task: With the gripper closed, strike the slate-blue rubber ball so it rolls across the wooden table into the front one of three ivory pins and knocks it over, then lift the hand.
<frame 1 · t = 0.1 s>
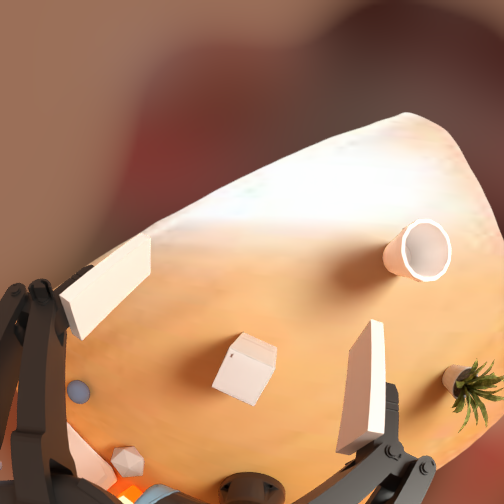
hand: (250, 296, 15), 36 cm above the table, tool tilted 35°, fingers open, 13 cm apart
die: (135, 454, 50), on the table
house plant: (448, 381, 43), on the table
orange juice: (137, 496, 48), on the table
foam cup: (396, 257, 48), on the table
supplement box: (252, 356, 50), on the table
plate: (80, 458, 52), on the table
ball: (78, 392, 50), on the table
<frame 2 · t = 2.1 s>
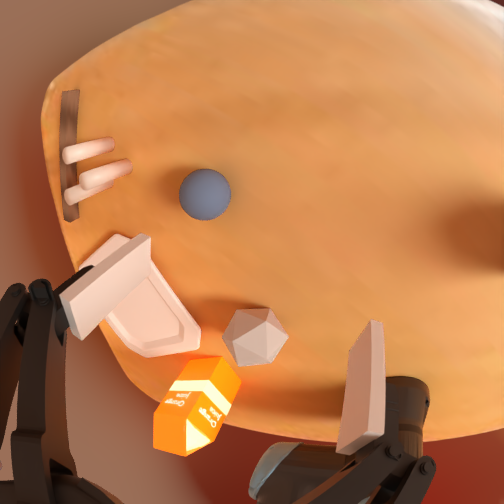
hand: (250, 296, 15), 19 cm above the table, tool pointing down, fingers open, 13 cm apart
die: (262, 319, 42), on the table
orange juice: (215, 370, 52), on the table
pin 2: (108, 180, 39), on the table
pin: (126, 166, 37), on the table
pin 1: (109, 144, 36), on the table
plate: (137, 300, 50), on the table
ball: (204, 194, 32), on the table
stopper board: (73, 155, 39), on the table
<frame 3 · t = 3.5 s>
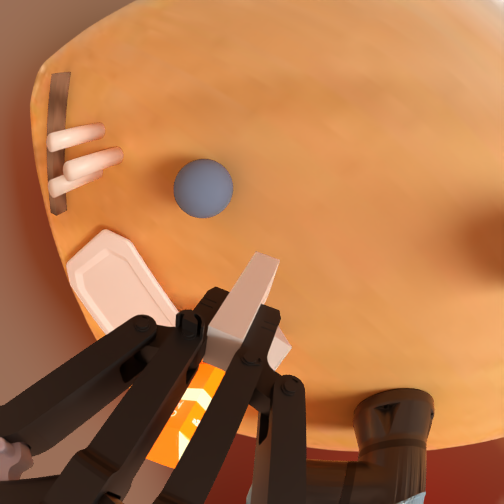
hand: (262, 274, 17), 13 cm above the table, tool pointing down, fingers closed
die: (263, 327, 38), on the table
orange juice: (209, 376, 48), on the table
pin 2: (97, 170, 34), on the table
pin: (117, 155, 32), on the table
pin 1: (99, 130, 31), on the table
plate: (127, 300, 46), on the table
ball: (203, 188, 27), on the table
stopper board: (61, 143, 34), on the table
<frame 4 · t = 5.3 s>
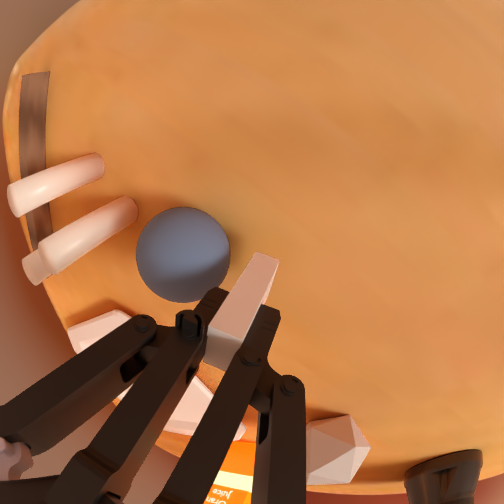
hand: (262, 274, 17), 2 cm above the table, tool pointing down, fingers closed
die: (334, 422, 27), on the table
orange juice: (253, 450, 37), on the table
pin 2: (97, 227, 23), on the table
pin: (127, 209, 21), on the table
pin 1: (95, 166, 20), on the table
plate: (151, 378, 35), on the table
ball: (182, 254, 17), on the table
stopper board: (42, 178, 23), on the table
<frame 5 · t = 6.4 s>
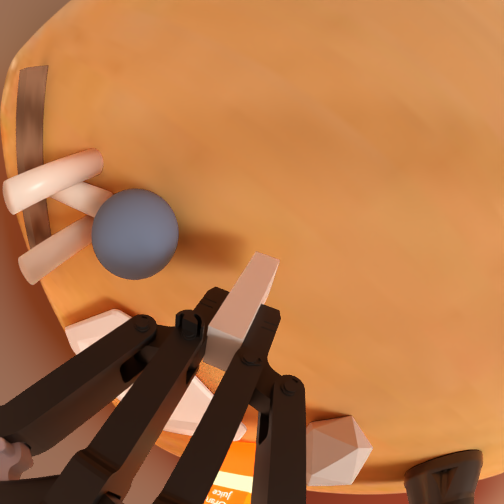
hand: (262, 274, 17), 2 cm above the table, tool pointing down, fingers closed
die: (335, 422, 26), on the table
orange juice: (253, 450, 37), on the table
pin 2: (95, 224, 23), on the table
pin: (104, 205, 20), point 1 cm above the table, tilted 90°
pin 1: (93, 162, 19), on the table
plate: (150, 378, 35), on the table
ball: (134, 234, 17), on the table
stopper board: (39, 175, 22), on the table
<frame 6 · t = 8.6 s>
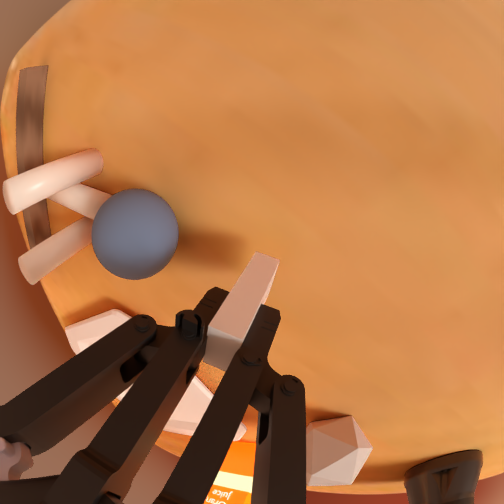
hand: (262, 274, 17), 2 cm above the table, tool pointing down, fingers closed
die: (335, 422, 26), on the table
orange juice: (253, 450, 37), on the table
pin 2: (95, 224, 23), on the table
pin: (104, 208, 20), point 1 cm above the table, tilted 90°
pin 1: (93, 162, 19), on the table
plate: (150, 378, 35), on the table
ball: (134, 234, 17), on the table
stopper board: (39, 175, 22), on the table
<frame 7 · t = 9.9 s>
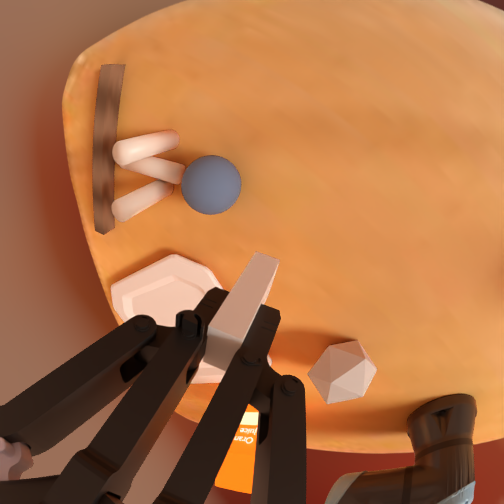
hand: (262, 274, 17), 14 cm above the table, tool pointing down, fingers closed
die: (345, 350, 36), on the table
orange juice: (272, 396, 47), on the table
pin 2: (165, 186, 33), on the table
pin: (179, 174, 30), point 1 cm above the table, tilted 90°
pin 1: (170, 139, 29), on the table
plate: (187, 325, 45), on the table
ball: (211, 184, 27), on the table
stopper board: (110, 150, 32), on the table
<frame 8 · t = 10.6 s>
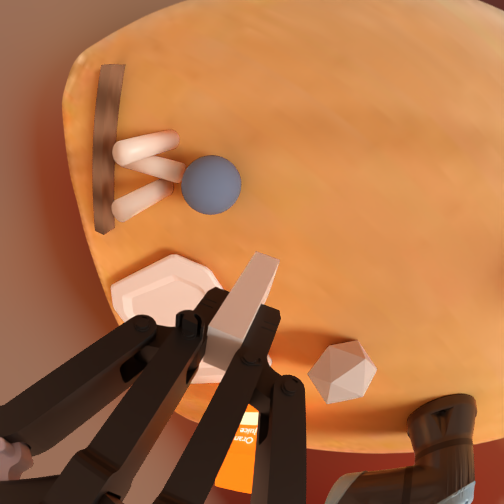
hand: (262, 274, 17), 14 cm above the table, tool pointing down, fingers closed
die: (345, 350, 36), on the table
orange juice: (272, 396, 47), on the table
pin 2: (165, 186, 33), on the table
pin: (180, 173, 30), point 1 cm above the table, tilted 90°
pin 1: (170, 139, 29), on the table
plate: (187, 325, 45), on the table
ball: (211, 184, 27), on the table
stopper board: (110, 150, 32), on the table
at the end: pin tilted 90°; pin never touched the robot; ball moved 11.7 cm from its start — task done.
